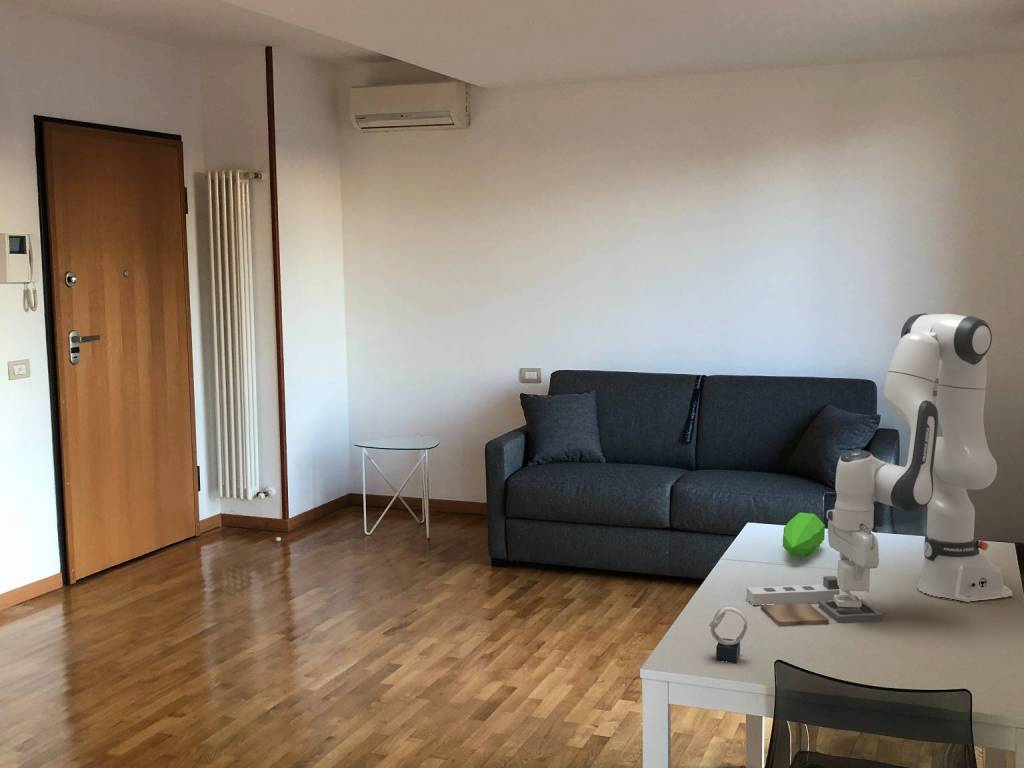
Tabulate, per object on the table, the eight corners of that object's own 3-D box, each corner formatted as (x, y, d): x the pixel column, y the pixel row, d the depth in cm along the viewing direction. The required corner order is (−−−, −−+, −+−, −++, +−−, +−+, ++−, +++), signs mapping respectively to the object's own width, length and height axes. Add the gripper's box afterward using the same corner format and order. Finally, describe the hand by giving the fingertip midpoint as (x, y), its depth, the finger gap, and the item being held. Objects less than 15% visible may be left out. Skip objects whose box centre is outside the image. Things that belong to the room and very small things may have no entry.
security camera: (868, 608, 251) (870, 567, 250) (838, 607, 251) (840, 566, 250) (862, 600, 257) (864, 559, 256) (832, 599, 258) (834, 559, 257)
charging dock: (861, 605, 261) (861, 598, 260) (882, 620, 250) (882, 613, 250) (818, 607, 259) (819, 600, 259) (837, 622, 248) (838, 615, 248)
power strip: (832, 595, 268) (833, 574, 267) (846, 606, 260) (847, 584, 259) (746, 599, 265) (746, 578, 265) (757, 610, 257) (758, 588, 257)
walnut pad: (808, 606, 260) (808, 602, 259) (828, 623, 248) (828, 619, 248) (760, 609, 258) (760, 605, 258) (779, 626, 246) (779, 621, 246)
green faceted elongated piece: (821, 503, 315) (804, 522, 288) (835, 539, 314) (819, 562, 287) (785, 513, 320) (764, 533, 293) (798, 550, 319) (779, 573, 292)
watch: (710, 650, 231) (711, 601, 230) (748, 655, 229) (749, 605, 227) (706, 659, 226) (707, 610, 225) (745, 664, 223) (746, 614, 222)
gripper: (887, 530, 242) (885, 588, 244) (848, 508, 262) (846, 563, 264) (860, 531, 241) (858, 590, 243) (823, 509, 261) (822, 564, 263)
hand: (852, 575), depth 254 cm, fingers closed on security camera, 5 cm apart
